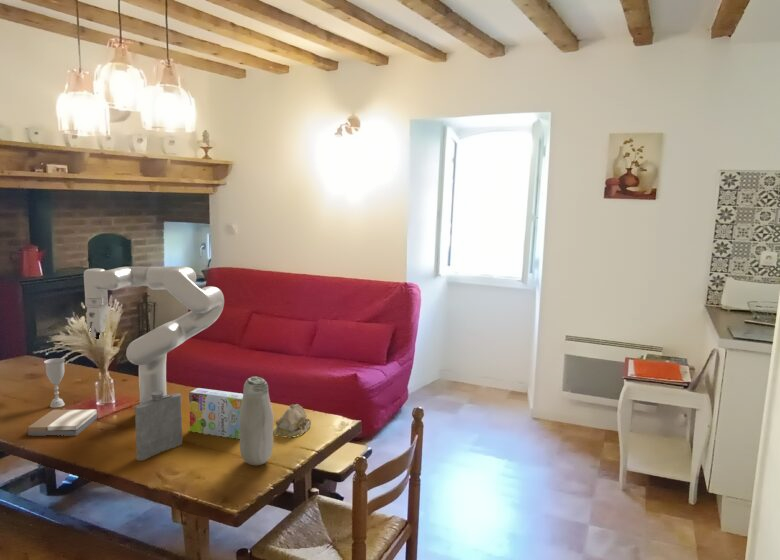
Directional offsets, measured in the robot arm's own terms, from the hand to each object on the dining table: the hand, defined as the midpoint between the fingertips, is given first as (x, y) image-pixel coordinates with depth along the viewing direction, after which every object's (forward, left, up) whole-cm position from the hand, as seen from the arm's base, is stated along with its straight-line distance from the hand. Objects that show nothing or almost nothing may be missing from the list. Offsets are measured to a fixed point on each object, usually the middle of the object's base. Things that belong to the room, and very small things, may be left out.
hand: (99, 349), depth 209 cm
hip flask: (-33, +33, -25) cm, 53 cm away
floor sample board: (+7, +14, -25) cm, 29 cm away
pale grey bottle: (-66, +41, -25) cm, 82 cm away
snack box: (-49, +19, -25) cm, 58 cm away
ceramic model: (-74, +16, -25) cm, 80 cm away
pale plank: (+4, +14, -23) cm, 27 cm away
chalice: (+20, -6, -25) cm, 33 cm away
